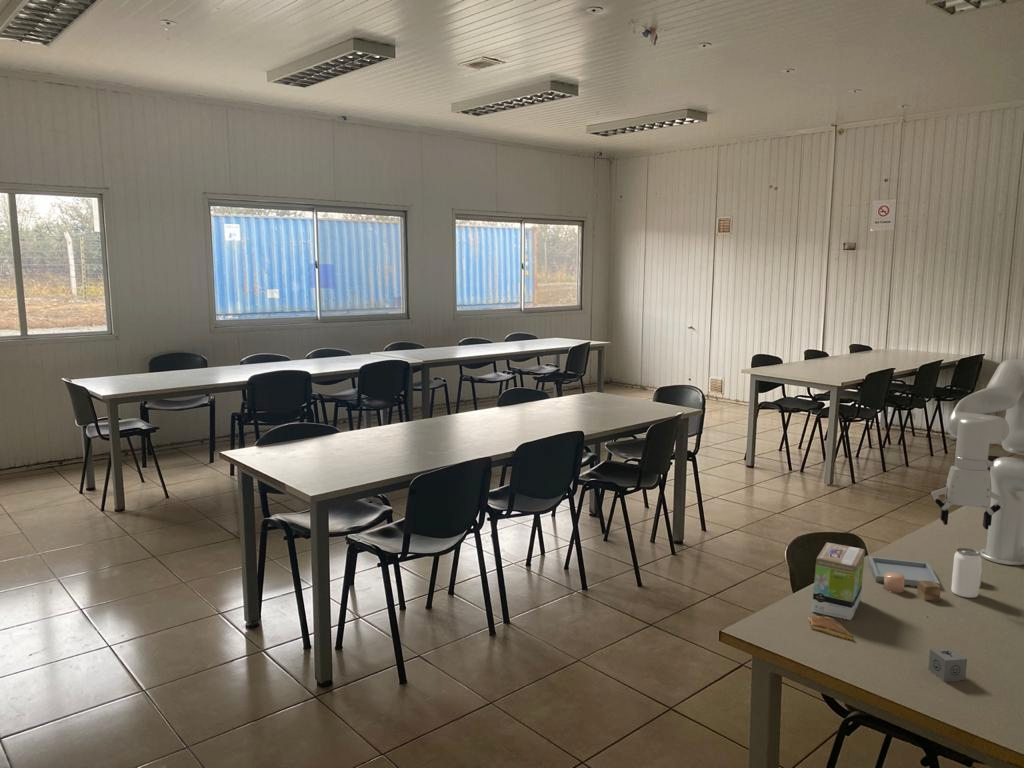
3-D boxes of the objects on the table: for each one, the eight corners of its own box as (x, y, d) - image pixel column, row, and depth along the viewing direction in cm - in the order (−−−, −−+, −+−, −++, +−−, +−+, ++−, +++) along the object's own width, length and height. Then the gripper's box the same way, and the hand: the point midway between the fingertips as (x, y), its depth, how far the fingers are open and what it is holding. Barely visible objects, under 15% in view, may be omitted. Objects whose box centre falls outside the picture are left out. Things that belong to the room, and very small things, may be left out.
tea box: (852, 621, 191) (857, 565, 189) (810, 612, 197) (814, 557, 195) (861, 600, 204) (865, 547, 202) (821, 592, 209) (825, 540, 207)
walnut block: (932, 595, 208) (933, 581, 207) (939, 601, 204) (940, 586, 204) (917, 594, 208) (918, 580, 208) (924, 600, 204) (925, 586, 204)
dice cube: (949, 669, 169) (951, 647, 168) (965, 680, 164) (967, 658, 163) (928, 670, 168) (930, 648, 167) (943, 682, 163) (945, 660, 162)
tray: (927, 568, 227) (928, 562, 226) (939, 589, 211) (939, 583, 211) (868, 562, 231) (869, 556, 231) (875, 581, 216) (876, 575, 216)
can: (971, 589, 212) (975, 547, 210) (983, 599, 205) (987, 556, 203) (946, 588, 212) (950, 547, 210) (957, 598, 206) (961, 555, 204)
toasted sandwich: (853, 643, 181) (854, 636, 181) (821, 643, 181) (822, 636, 181) (833, 622, 192) (834, 615, 192) (803, 622, 192) (804, 616, 192)
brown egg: (902, 587, 213) (903, 573, 212) (905, 594, 208) (906, 580, 208) (882, 585, 215) (883, 571, 214) (885, 591, 210) (886, 577, 209)
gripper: (1004, 463, 205) (998, 525, 207) (932, 458, 211) (927, 517, 213) (1011, 470, 198) (1005, 533, 200) (936, 463, 204) (931, 525, 206)
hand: (965, 525), depth 207 cm, fingers open, 9 cm apart
